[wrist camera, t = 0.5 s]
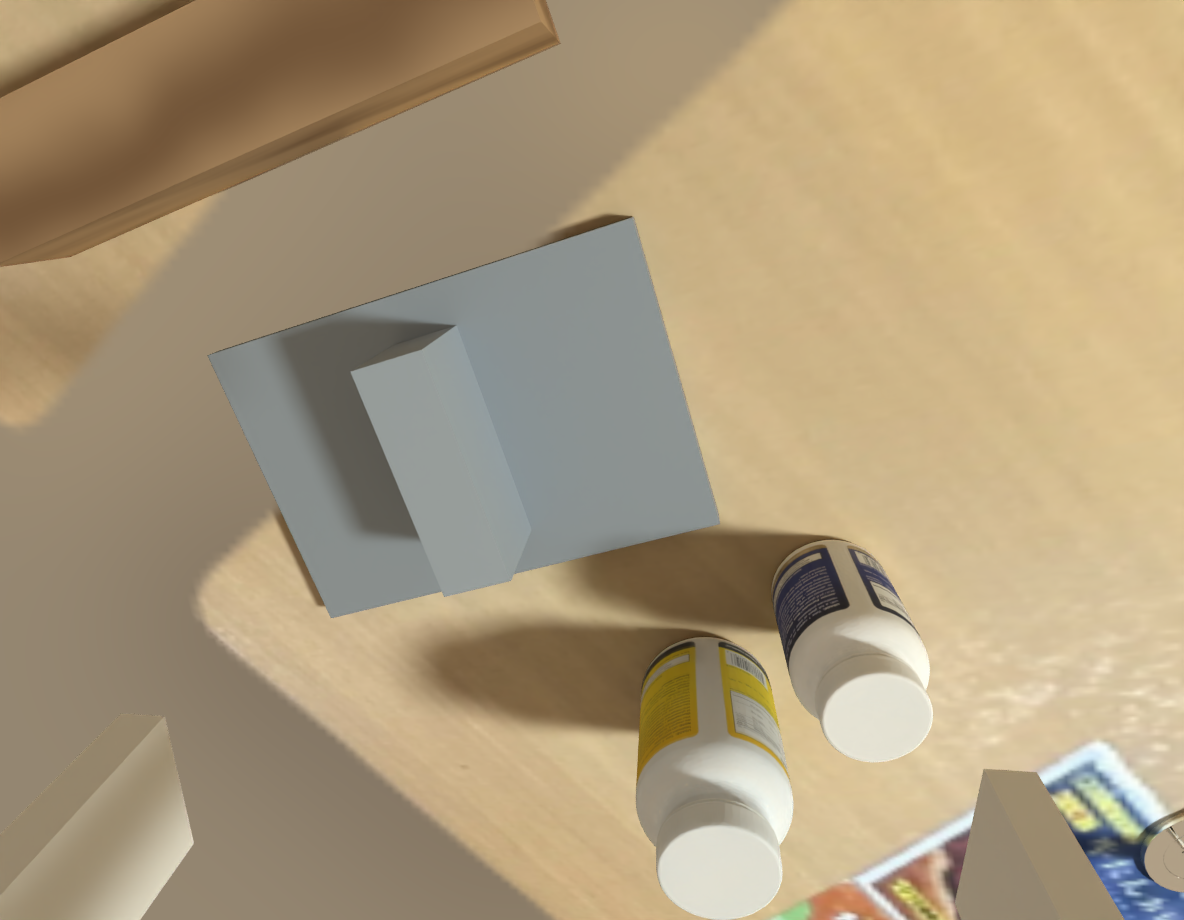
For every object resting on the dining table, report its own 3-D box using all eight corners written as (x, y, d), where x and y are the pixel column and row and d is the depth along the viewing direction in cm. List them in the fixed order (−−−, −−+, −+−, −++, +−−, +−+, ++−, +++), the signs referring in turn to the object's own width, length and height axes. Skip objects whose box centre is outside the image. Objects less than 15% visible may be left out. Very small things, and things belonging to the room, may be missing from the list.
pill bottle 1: (625, 714, 42) (607, 907, 31) (666, 613, 39) (664, 782, 28) (743, 753, 42) (767, 959, 31) (791, 654, 39) (835, 839, 28)
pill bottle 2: (768, 635, 39) (796, 777, 30) (771, 536, 37) (802, 654, 28) (881, 637, 39) (946, 781, 29) (890, 536, 37) (962, 656, 28)
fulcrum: (219, 350, 37) (137, 383, 31) (633, 216, 33) (625, 225, 27) (339, 608, 41) (285, 677, 35) (719, 515, 37) (726, 576, 32)
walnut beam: (14, 146, 35) (-89, 142, 30) (513, -95, 30) (483, -144, 25) (75, 256, 36) (-14, 268, 32) (560, 43, 31) (541, 21, 27)
